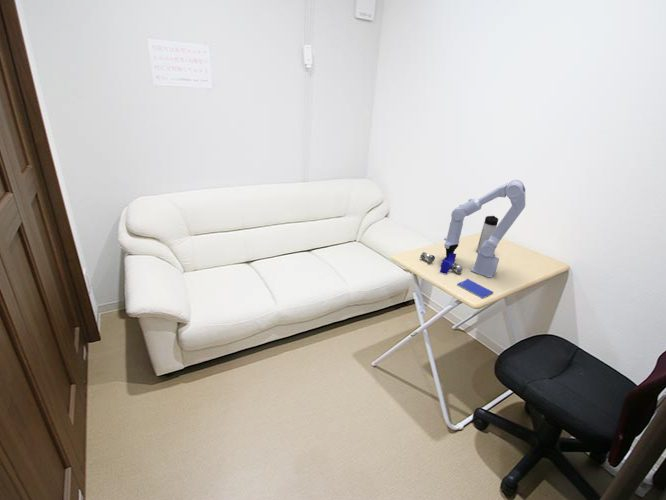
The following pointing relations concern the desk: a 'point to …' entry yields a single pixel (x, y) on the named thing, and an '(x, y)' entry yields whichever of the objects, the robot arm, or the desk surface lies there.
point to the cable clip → (447, 263)
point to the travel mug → (487, 229)
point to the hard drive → (475, 288)
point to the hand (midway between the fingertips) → (448, 257)
